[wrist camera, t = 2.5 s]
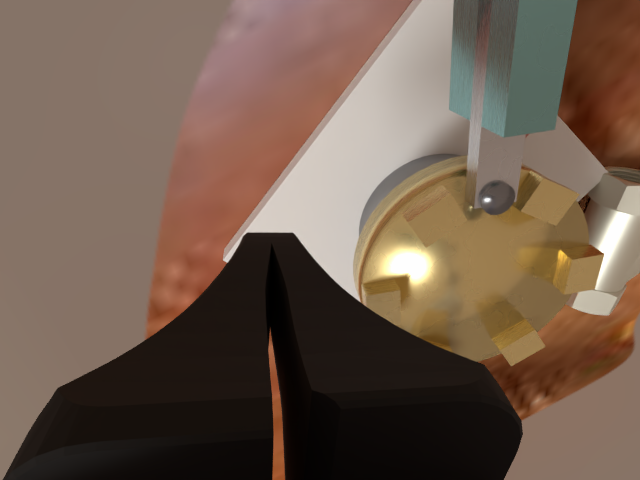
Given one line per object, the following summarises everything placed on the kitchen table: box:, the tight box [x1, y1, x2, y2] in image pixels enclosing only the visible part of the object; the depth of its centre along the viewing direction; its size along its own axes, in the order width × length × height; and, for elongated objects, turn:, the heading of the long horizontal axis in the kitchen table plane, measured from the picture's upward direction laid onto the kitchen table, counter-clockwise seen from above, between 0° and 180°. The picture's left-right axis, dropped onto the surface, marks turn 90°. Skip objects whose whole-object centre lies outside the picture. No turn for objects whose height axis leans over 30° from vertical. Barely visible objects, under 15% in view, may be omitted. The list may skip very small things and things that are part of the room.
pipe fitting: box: [566, 166, 640, 315], centre depth 24 cm, size 8×4×7 cm
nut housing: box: [223, 0, 609, 301], centre depth 21 cm, size 16×14×4 cm
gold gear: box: [353, 0, 605, 366], centre depth 15 cm, size 18×10×4 cm, turn 7°
